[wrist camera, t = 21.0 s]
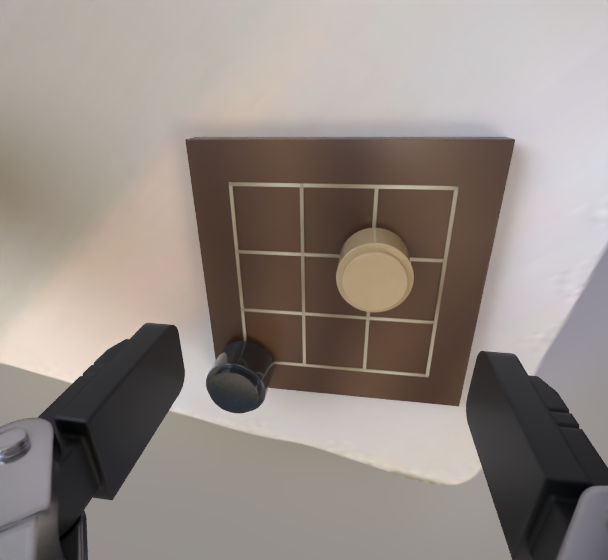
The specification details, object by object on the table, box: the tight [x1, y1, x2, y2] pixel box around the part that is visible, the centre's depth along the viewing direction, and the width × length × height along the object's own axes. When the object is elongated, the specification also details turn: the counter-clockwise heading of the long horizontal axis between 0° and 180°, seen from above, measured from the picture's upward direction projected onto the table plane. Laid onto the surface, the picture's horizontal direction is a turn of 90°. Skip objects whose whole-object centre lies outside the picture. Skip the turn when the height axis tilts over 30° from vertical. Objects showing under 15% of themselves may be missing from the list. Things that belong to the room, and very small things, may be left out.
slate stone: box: [206, 341, 274, 413], centre depth 30 cm, size 5×5×4 cm
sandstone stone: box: [336, 228, 414, 312], centre depth 24 cm, size 5×5×4 cm
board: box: [186, 137, 515, 406], centre depth 28 cm, size 20×20×2 cm
